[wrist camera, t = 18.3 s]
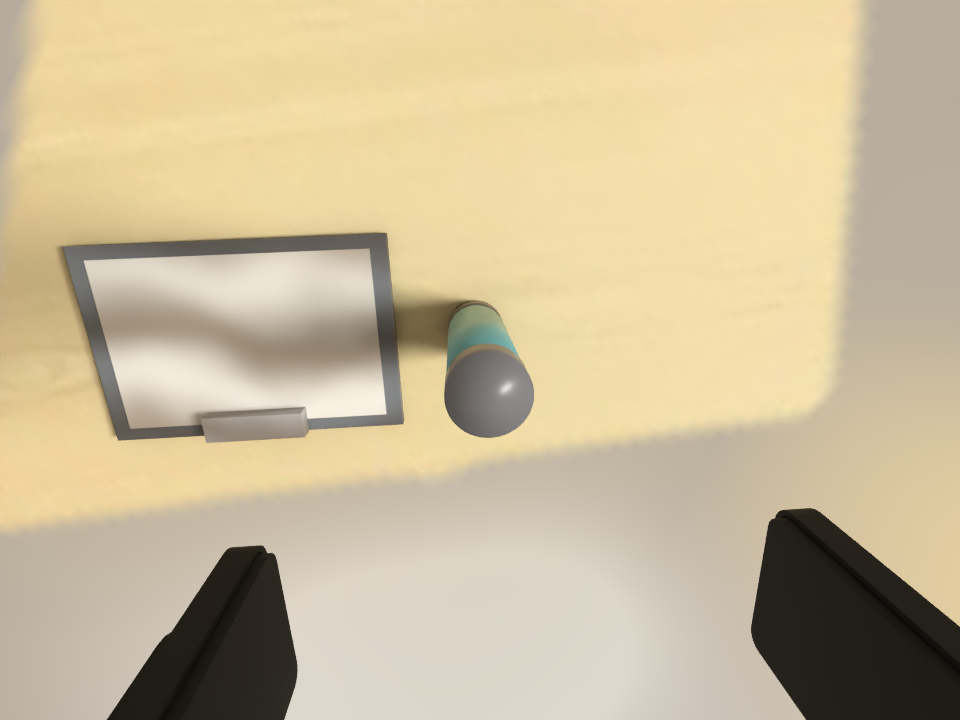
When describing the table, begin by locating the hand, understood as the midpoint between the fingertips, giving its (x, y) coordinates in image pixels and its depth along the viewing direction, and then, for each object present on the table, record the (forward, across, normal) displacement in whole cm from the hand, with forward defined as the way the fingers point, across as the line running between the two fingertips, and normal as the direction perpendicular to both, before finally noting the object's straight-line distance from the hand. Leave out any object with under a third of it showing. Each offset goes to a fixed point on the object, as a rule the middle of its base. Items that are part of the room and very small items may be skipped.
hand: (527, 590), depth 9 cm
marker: (+22, 0, 0) cm, 22 cm away
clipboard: (+22, +14, 0) cm, 26 cm away
